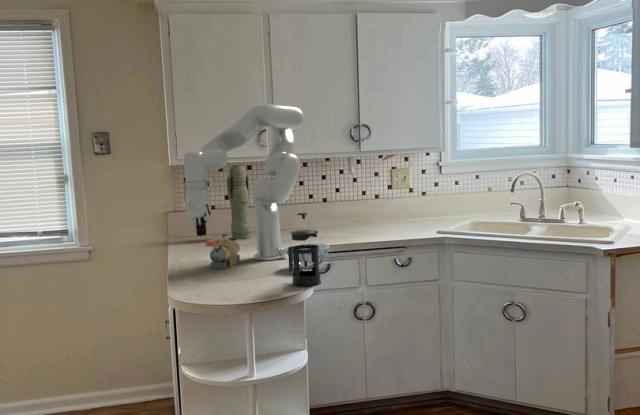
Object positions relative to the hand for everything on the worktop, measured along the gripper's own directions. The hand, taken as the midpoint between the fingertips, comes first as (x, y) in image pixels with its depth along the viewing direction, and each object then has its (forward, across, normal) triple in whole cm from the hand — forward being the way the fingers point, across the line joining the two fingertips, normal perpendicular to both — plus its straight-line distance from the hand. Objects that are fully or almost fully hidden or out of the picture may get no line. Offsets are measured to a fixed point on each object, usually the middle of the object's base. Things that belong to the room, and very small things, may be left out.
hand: (201, 235), depth 236 cm
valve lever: (+4, +3, +5) cm, 7 cm away
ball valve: (+13, 0, +10) cm, 16 cm away
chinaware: (+14, +30, +24) cm, 41 cm away
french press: (+13, +48, +6) cm, 50 cm away
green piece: (+15, -49, +53) cm, 74 cm away
